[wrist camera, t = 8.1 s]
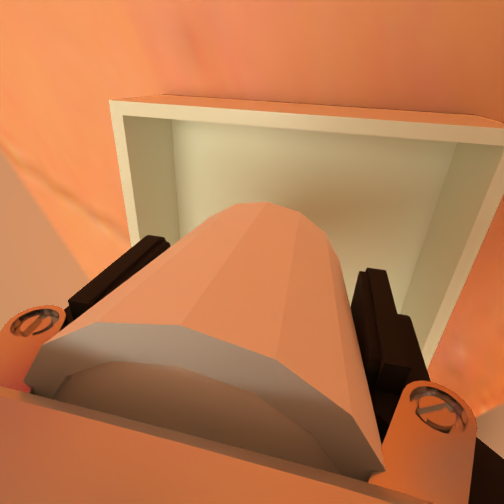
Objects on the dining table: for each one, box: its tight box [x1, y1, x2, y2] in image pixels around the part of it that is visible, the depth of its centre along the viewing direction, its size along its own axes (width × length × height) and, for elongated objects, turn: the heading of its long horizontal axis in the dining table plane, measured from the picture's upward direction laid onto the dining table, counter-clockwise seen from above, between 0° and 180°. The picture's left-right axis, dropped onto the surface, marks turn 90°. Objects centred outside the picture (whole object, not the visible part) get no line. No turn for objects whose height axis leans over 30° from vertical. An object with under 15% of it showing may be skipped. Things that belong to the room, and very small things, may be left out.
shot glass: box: [23, 202, 386, 483], centre depth 9 cm, size 7×7×7 cm
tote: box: [109, 94, 504, 368], centre depth 20 cm, size 17×17×6 cm
